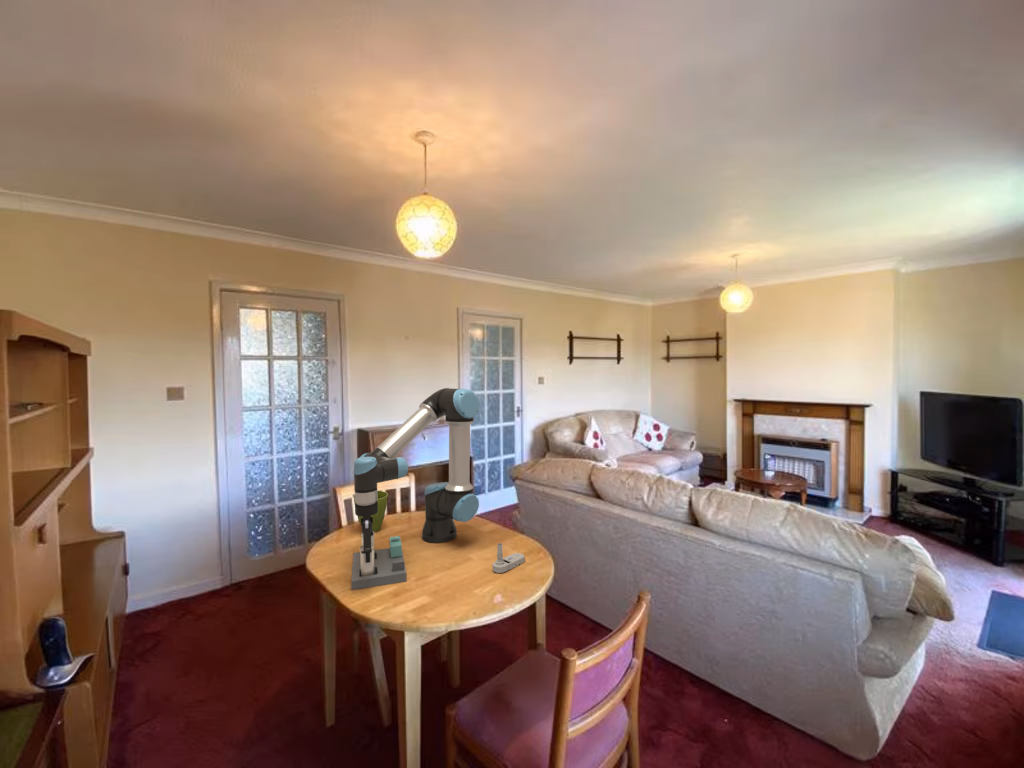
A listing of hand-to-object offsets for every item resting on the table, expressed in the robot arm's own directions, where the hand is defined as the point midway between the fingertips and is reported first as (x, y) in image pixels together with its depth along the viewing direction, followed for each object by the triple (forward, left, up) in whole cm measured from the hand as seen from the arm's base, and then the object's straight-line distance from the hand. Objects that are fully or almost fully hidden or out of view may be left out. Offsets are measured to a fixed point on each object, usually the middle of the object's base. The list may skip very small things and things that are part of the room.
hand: (368, 562), depth 156 cm
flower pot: (-2, -50, -6) cm, 50 cm away
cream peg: (0, 0, -6) cm, 6 cm away
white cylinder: (0, -13, -6) cm, 14 cm away
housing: (-4, -6, -6) cm, 10 cm away
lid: (-10, -14, -3) cm, 17 cm away
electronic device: (-49, +6, -7) cm, 50 cm away
